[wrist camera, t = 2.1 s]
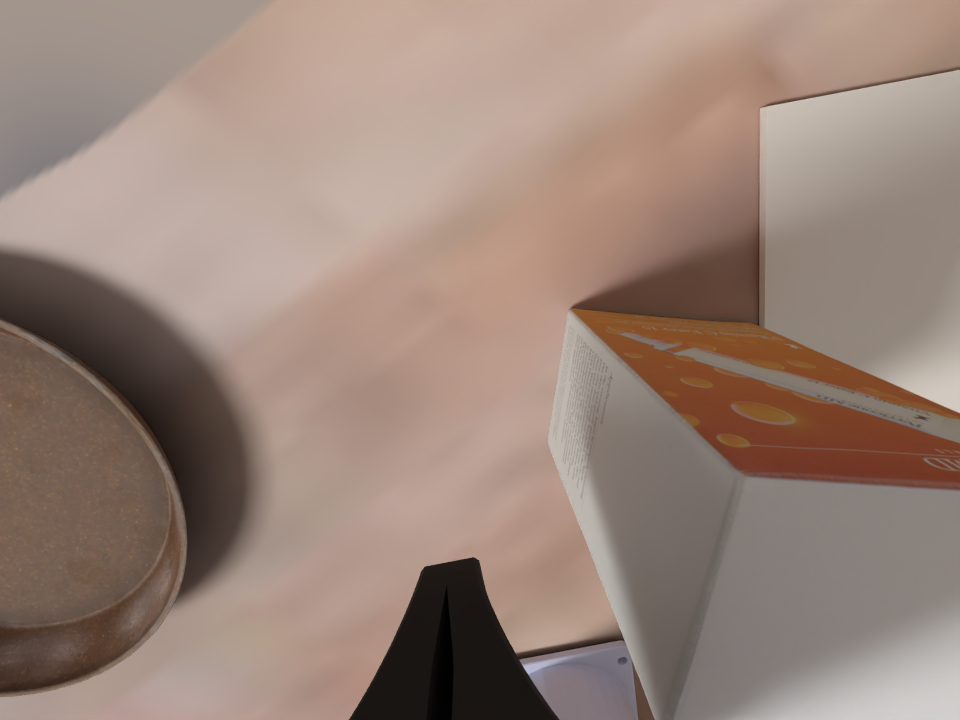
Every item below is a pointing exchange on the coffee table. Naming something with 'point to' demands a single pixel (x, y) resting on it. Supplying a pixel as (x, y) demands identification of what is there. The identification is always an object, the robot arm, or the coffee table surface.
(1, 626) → the plant saucer
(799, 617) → the small box
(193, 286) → the coffee table surface
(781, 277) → the mat
